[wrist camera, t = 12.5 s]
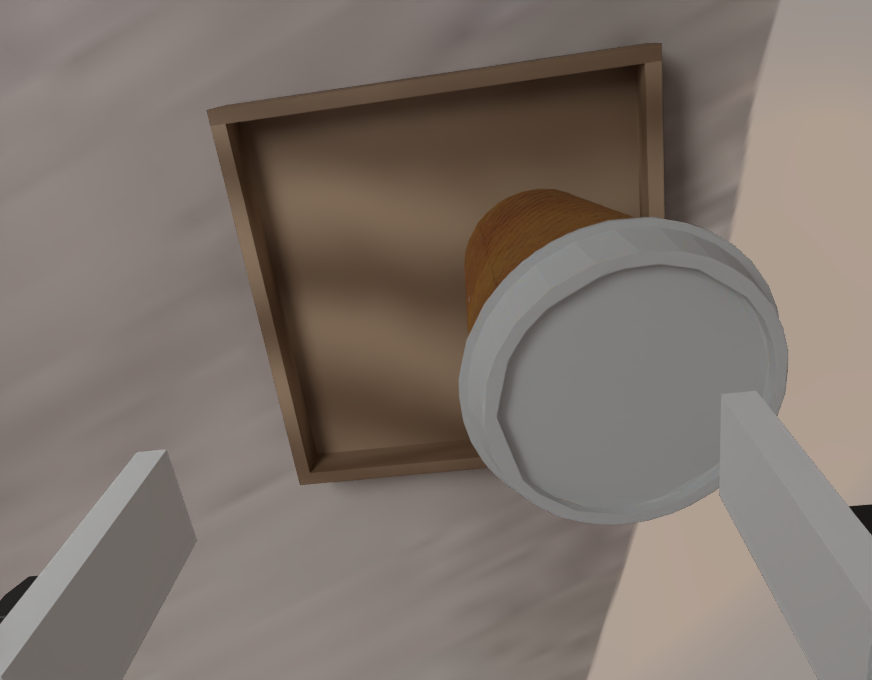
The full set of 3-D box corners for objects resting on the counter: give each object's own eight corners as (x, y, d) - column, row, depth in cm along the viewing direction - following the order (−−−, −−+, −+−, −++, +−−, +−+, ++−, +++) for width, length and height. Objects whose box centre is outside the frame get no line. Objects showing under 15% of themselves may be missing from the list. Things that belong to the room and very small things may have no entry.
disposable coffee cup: (444, 132, 28) (500, 210, 17) (672, 164, 29) (859, 254, 18) (411, 351, 31) (440, 529, 21) (614, 370, 33) (740, 545, 22)
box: (227, 105, 30) (206, 110, 27) (645, 43, 28) (661, 43, 26) (310, 456, 36) (300, 485, 34) (655, 423, 34) (668, 450, 32)
